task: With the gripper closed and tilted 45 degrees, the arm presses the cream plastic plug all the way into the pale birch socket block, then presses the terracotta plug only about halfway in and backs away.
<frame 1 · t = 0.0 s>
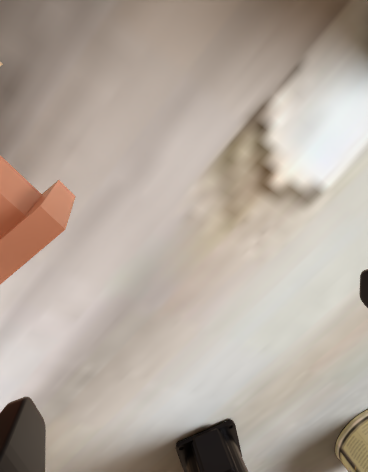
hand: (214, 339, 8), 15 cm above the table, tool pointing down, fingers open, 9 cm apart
coffee can: (365, 431, 40), on the table
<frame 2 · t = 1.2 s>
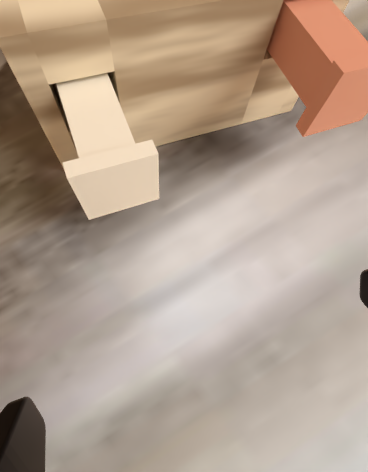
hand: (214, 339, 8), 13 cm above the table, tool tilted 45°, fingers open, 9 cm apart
socket block: (166, 94, 28), on the table
cream plug: (93, 115, 19), point 6 cm above the table, slide at 0.0 cm
terracotta plug: (305, 36, 20), point 8 cm above the table, slide at 0.0 cm
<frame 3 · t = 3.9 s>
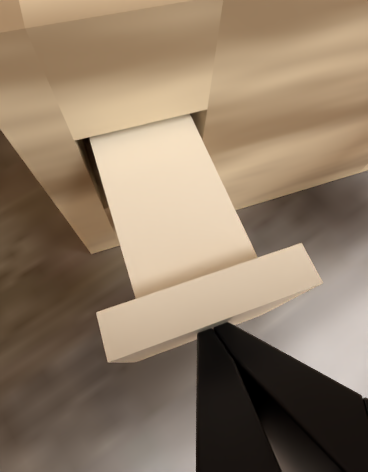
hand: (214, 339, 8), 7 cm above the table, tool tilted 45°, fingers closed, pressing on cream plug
socket block: (241, 127, 19), on the table
cream plug: (147, 163, 10), point 6 cm above the table, slide at 1.1 cm, touching gripper
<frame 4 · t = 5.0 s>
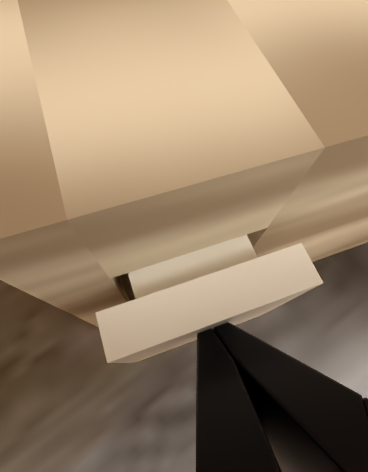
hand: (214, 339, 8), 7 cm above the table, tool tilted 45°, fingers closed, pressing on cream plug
socket block: (269, 178, 18), on the table
cream plug: (146, 163, 10), point 6 cm above the table, slide at 5.3 cm, touching gripper
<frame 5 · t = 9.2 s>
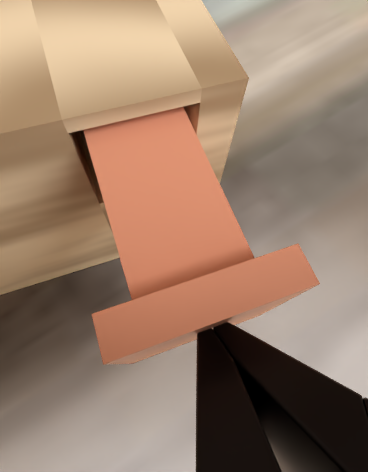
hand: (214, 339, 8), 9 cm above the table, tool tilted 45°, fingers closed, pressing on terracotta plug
socket block: (17, 206, 19), on the table
terracotta plug: (144, 164, 10), point 9 cm above the table, slide at 0.8 cm, touching gripper
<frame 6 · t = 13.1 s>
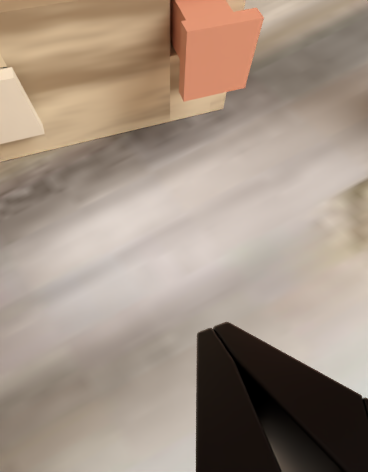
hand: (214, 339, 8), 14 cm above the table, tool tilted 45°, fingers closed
socket block: (99, 93, 29), on the table
terracotta plug: (188, 8, 21), point 9 cm above the table, slide at 2.8 cm
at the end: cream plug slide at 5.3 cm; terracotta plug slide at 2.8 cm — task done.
